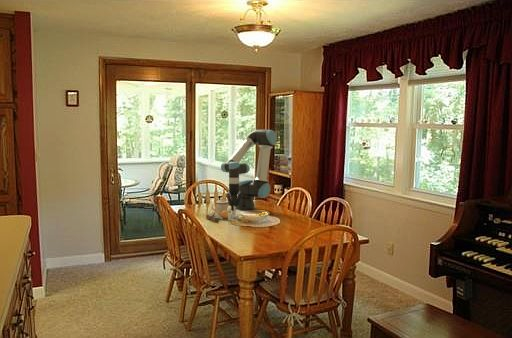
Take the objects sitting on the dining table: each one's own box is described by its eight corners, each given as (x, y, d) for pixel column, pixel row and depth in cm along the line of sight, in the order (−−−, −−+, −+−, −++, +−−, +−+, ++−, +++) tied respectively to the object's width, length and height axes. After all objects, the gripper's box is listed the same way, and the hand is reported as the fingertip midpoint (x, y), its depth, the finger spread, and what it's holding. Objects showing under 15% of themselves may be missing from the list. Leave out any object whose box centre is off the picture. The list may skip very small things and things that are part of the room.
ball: (218, 211, 327) (220, 219, 328) (222, 212, 322) (224, 220, 324) (225, 208, 330) (226, 216, 332) (229, 210, 326) (231, 217, 327)
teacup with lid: (227, 212, 350) (227, 197, 349) (228, 214, 341) (228, 199, 340) (211, 212, 348) (211, 197, 347) (212, 215, 339) (212, 199, 338)
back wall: (206, 218, 327) (206, 214, 327) (208, 218, 328) (208, 214, 328) (215, 222, 315) (215, 218, 315) (218, 222, 317) (218, 217, 316)
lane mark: (237, 215, 339) (237, 215, 339) (243, 217, 332) (243, 217, 332) (216, 218, 328) (216, 218, 328) (222, 220, 322) (222, 220, 322)
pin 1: (220, 216, 327) (211, 211, 322) (221, 216, 325) (212, 211, 320) (218, 219, 326) (209, 214, 322) (220, 219, 324) (211, 214, 320)
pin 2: (230, 220, 323) (230, 208, 322) (231, 220, 321) (231, 208, 320) (227, 220, 322) (227, 208, 321) (228, 221, 320) (228, 209, 319)
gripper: (238, 181, 336) (238, 213, 338) (223, 183, 329) (223, 215, 331) (244, 183, 330) (244, 214, 332) (229, 184, 322) (228, 216, 325)
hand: (233, 214), depth 332 cm, fingers closed
